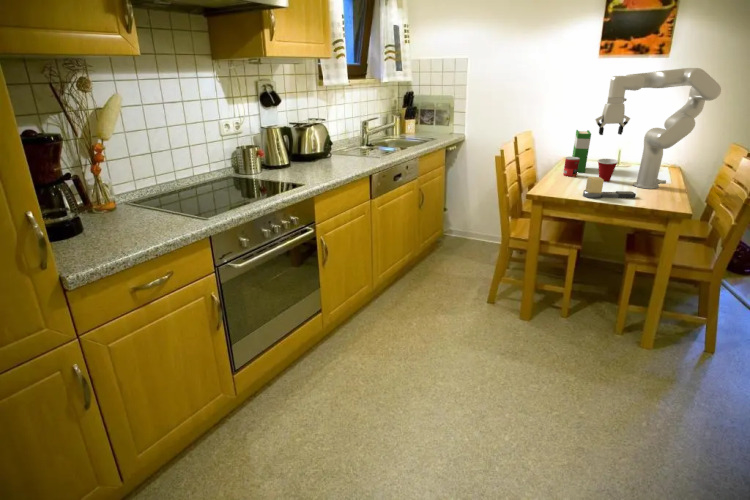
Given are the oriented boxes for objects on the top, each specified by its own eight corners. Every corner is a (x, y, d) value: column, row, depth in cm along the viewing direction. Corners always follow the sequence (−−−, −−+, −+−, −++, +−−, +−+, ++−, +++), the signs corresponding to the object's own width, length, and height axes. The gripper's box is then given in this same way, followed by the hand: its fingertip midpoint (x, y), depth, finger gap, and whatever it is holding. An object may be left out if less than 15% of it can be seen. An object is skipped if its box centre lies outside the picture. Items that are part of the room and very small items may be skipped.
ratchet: (585, 198, 230) (588, 186, 227) (580, 193, 238) (582, 181, 236) (636, 199, 227) (639, 187, 225) (629, 194, 235) (632, 182, 233)
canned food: (575, 177, 272) (577, 159, 268) (561, 175, 277) (564, 158, 273) (578, 175, 278) (581, 157, 274) (565, 173, 282) (567, 156, 278)
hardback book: (570, 166, 301) (576, 129, 292) (582, 167, 299) (588, 130, 290) (572, 172, 286) (578, 133, 277) (584, 172, 284) (591, 134, 275)
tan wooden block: (597, 190, 235) (599, 177, 232) (601, 193, 229) (603, 179, 227) (585, 190, 236) (587, 176, 233) (589, 193, 230) (591, 179, 227)
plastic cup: (590, 180, 265) (594, 160, 260) (598, 177, 272) (601, 157, 267) (610, 183, 257) (614, 162, 253) (617, 180, 264) (621, 160, 260)
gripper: (629, 100, 238) (623, 133, 245) (595, 101, 240) (591, 134, 246) (636, 101, 231) (630, 135, 238) (601, 102, 233) (596, 136, 239)
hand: (610, 134), depth 242 cm, fingers open, 9 cm apart
